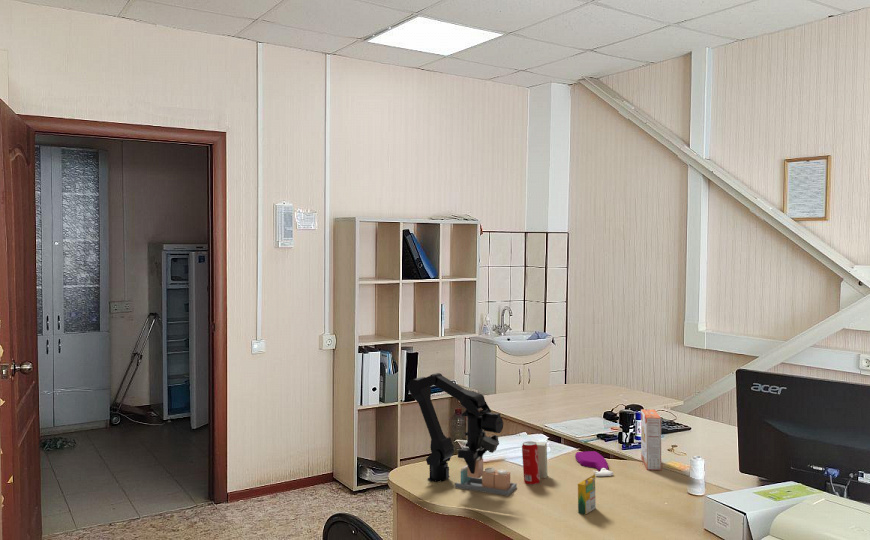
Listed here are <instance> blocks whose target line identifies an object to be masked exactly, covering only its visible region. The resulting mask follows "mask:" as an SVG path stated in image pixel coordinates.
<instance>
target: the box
mask: <svg viewBox="0 0 870 540" xmlns="http://www.w3.org/2000/svg"><path fill="white" fill-rule="evenodd" d="M535 442H536V444H537V447H538V462H539V477H540V479H541V478H542V479H547V478H548V449H547V447H548V445H547V442H539V441H535Z"/></svg>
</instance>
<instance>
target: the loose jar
mask: <svg viewBox="0 0 870 540" xmlns="http://www.w3.org/2000/svg"><path fill="white" fill-rule="evenodd" d="M466 465H467V464H466ZM482 472H484V457H482V458H480V457H479V458H477V459H476V465H475V472H474V474H472V473H471V472H470V470H469V468H468V465H467V477H473V478H482Z"/></svg>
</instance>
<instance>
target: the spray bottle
mask: <svg viewBox="0 0 870 540" xmlns="http://www.w3.org/2000/svg"><path fill="white" fill-rule="evenodd" d="M574 458H575V460H576V461H577V462H578V464H579V465H581V466H583V467H587V468H593V469H597V470H592V472H593V473H594V474H595V477H610V476H614V471H612V470H609V465H608V461H607V460H606V459H605V457H604V456H603V455H601V453H599V452H597V451H594V450H593V451H591V450H590V451H586V450H585V451H577V452H576V453H575V455H574Z"/></svg>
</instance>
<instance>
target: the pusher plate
mask: <svg viewBox="0 0 870 540" xmlns="http://www.w3.org/2000/svg"><path fill="white" fill-rule="evenodd" d="M469 480H470V477H467V464H466V465H465V466H463V467H462V468H461V469H460V483H462V484H465V483H466V482H468V481H469Z"/></svg>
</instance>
